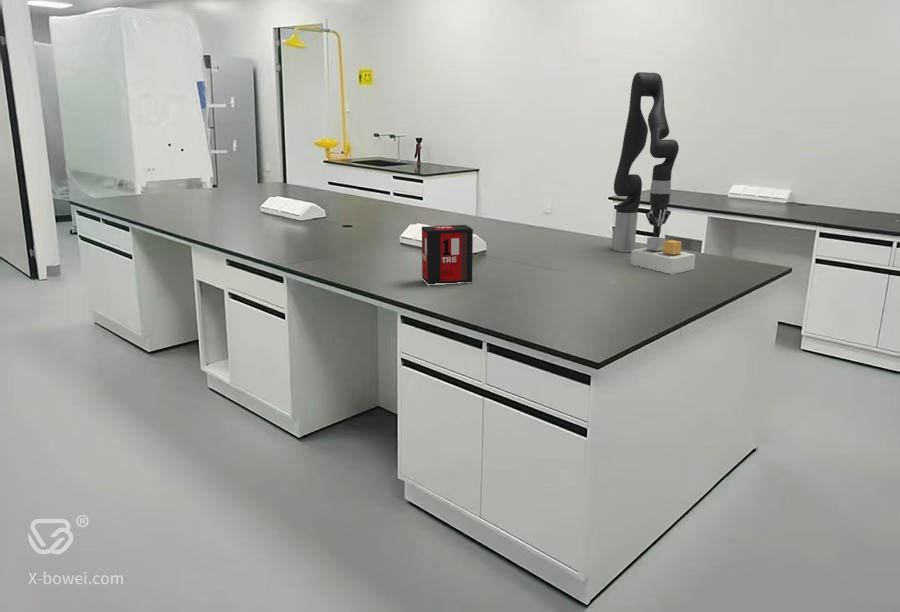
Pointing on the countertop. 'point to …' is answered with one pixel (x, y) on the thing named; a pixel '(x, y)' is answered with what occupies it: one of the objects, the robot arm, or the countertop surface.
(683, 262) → the panel
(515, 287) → the countertop surface
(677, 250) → the tan cardboard-coloured cube
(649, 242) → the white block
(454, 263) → the cleaning product box
